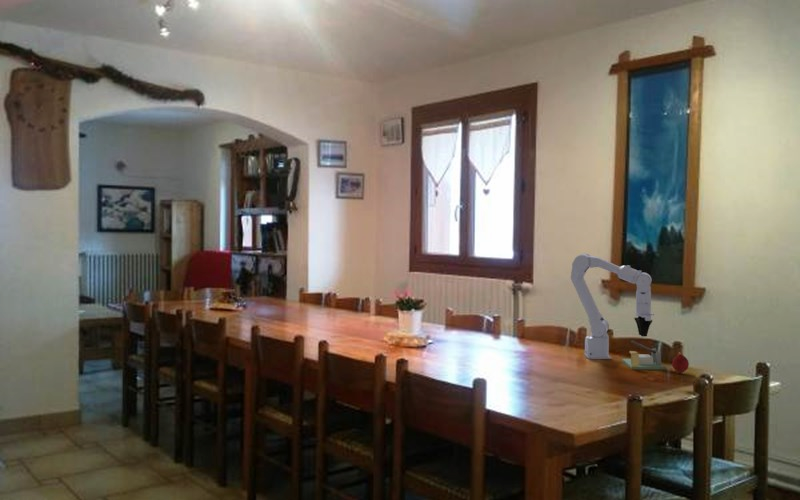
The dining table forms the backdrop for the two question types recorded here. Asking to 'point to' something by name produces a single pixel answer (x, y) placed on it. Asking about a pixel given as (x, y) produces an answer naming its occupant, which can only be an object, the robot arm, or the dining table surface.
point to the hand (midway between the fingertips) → (642, 335)
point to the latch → (634, 359)
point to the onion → (680, 363)
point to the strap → (643, 347)
